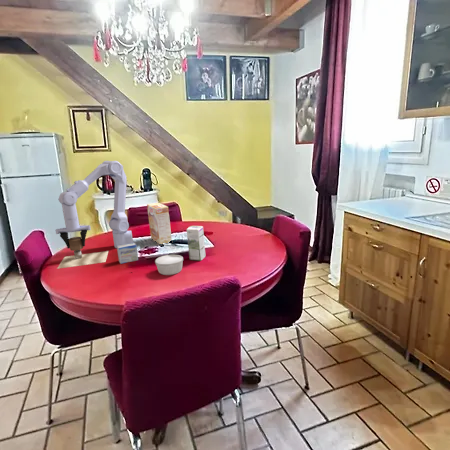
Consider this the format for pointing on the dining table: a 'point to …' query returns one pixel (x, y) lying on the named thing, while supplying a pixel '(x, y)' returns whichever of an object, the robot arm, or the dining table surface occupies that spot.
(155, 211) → the coffeecake box
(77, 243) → the walnut cap
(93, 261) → the post board
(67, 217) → the robot arm
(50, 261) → the dining table surface
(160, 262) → the ramekin
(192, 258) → the syrup box
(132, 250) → the medicine box
